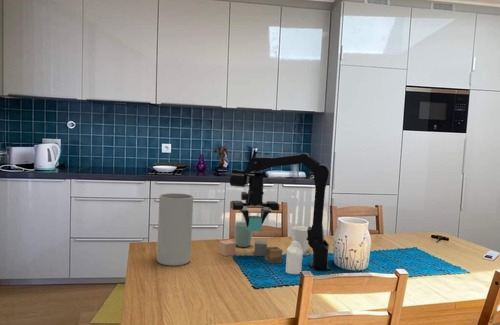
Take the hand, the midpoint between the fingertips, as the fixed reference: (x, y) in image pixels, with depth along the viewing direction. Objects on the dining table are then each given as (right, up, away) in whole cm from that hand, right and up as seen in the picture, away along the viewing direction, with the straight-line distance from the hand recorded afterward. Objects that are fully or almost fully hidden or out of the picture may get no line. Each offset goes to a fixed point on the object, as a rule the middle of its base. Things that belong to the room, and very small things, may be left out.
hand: (253, 226), depth 158 cm
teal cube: (0, -1, 0) cm, 1 cm away
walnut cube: (+8, -14, 0) cm, 16 cm away
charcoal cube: (+3, -13, +8) cm, 15 cm away
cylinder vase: (-31, -12, -7) cm, 34 cm away
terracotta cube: (-11, -12, +6) cm, 17 cm away
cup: (-5, -12, +18) cm, 22 cm away
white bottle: (+15, -15, -12) cm, 24 cm away
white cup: (+20, -13, +16) cm, 29 cm away
